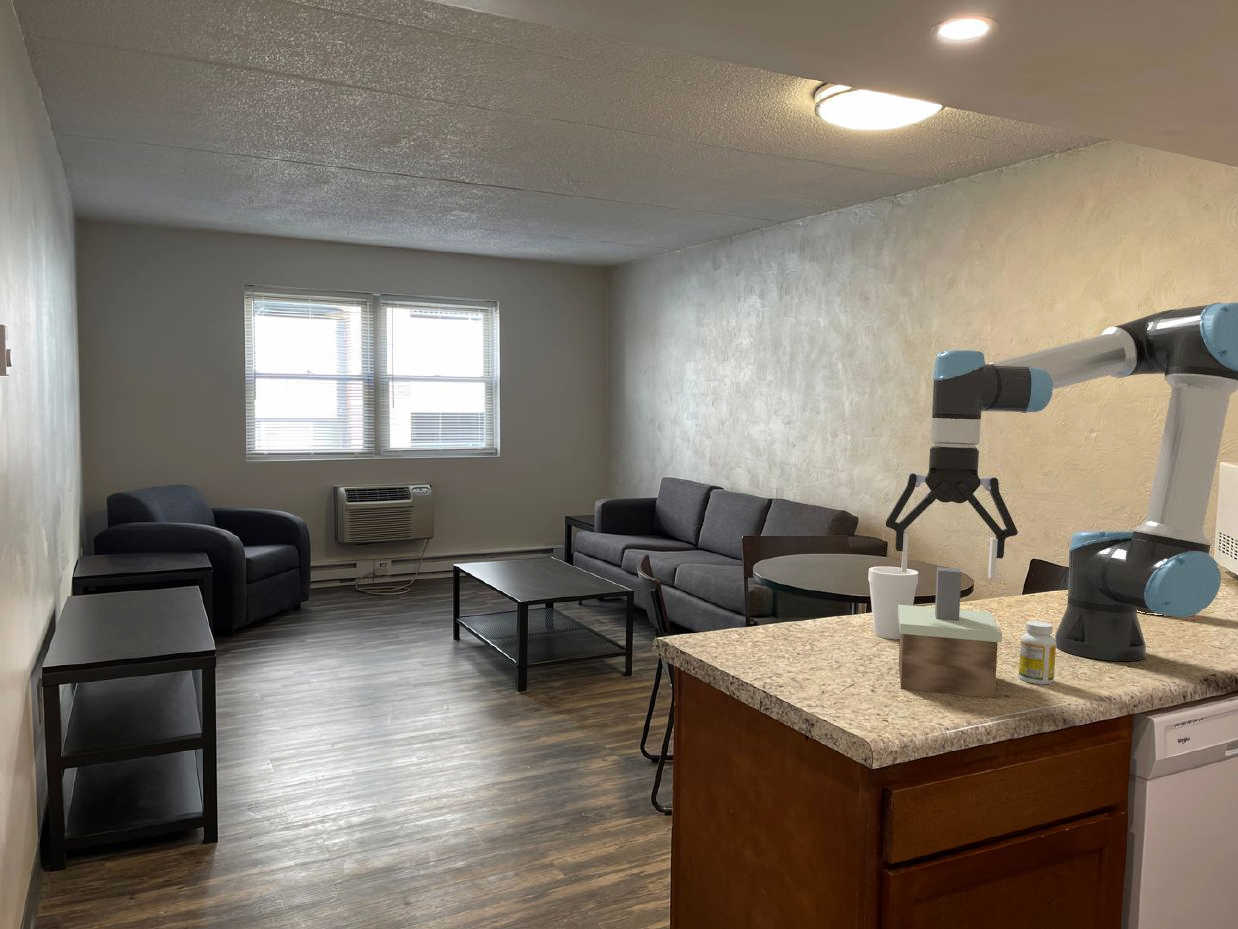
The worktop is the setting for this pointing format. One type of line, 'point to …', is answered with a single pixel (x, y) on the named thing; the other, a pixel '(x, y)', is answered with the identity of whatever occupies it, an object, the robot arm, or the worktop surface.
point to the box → (948, 665)
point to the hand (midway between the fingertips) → (947, 574)
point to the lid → (948, 614)
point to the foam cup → (890, 597)
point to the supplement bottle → (1037, 653)
